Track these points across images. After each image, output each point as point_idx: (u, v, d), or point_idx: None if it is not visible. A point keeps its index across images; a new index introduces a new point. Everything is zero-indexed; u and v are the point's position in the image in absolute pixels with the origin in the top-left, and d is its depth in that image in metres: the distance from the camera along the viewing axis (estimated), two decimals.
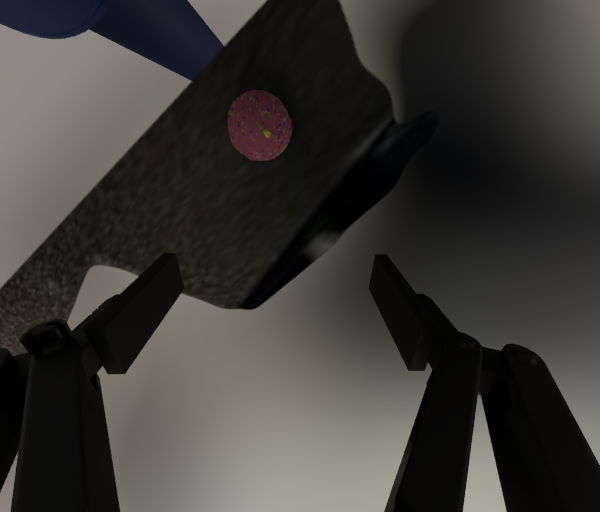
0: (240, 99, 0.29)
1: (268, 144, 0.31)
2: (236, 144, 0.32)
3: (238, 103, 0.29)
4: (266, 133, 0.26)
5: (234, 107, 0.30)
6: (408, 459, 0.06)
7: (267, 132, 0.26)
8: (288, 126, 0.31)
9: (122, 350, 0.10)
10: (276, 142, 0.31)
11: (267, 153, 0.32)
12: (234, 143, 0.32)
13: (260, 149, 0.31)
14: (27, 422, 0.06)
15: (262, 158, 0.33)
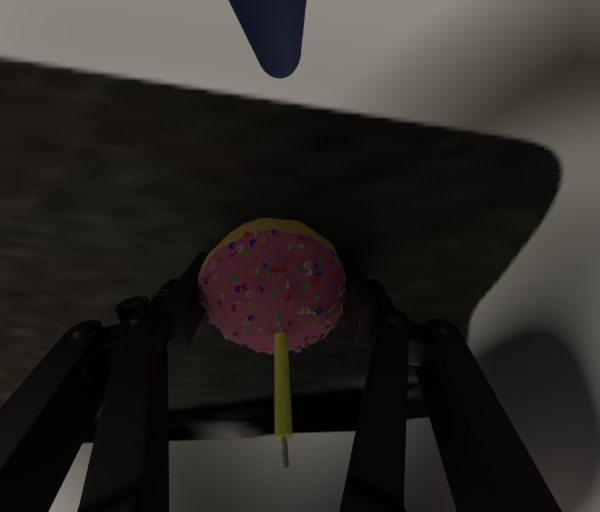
0: (284, 244, 0.11)
1: (266, 347, 0.13)
2: (205, 292, 0.12)
3: (274, 247, 0.11)
4: (282, 436, 0.09)
5: (259, 246, 0.11)
6: (357, 435, 0.06)
7: (286, 435, 0.09)
8: None
9: (186, 326, 0.12)
10: None
11: (251, 347, 0.14)
12: (201, 288, 0.12)
13: (243, 342, 0.13)
14: (111, 383, 0.07)
15: None
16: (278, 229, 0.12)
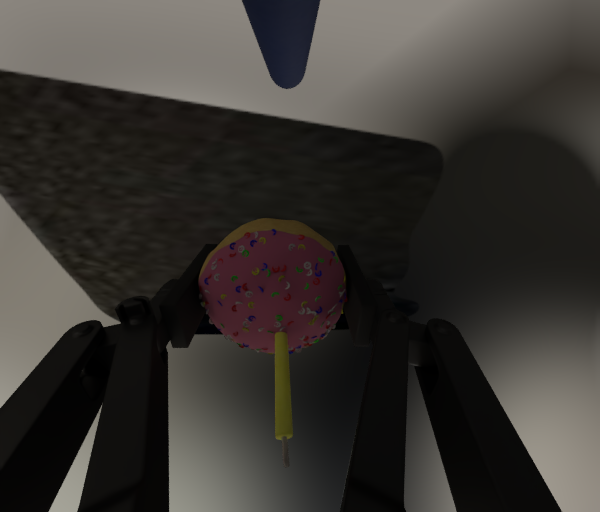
0: (284, 244, 0.11)
1: (266, 347, 0.13)
2: (205, 292, 0.12)
3: (274, 248, 0.11)
4: (283, 436, 0.09)
5: (259, 246, 0.11)
6: (357, 435, 0.06)
7: (287, 434, 0.09)
8: None
9: (186, 326, 0.12)
10: None
11: (251, 348, 0.14)
12: (201, 288, 0.12)
13: (243, 342, 0.13)
14: (111, 383, 0.07)
15: None
16: (278, 229, 0.12)
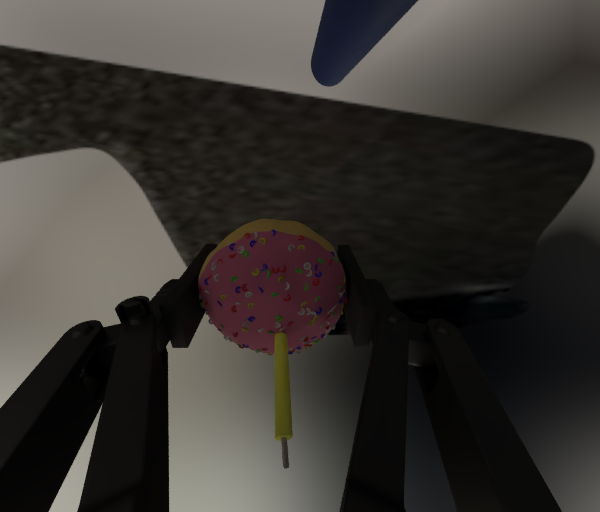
0: (284, 245, 0.11)
1: (266, 348, 0.13)
2: (205, 293, 0.12)
3: (274, 248, 0.11)
4: (282, 437, 0.09)
5: (259, 247, 0.11)
6: (357, 435, 0.06)
7: (286, 435, 0.09)
8: None
9: (186, 326, 0.12)
10: None
11: (251, 348, 0.14)
12: (201, 288, 0.12)
13: (243, 343, 0.13)
14: (111, 383, 0.07)
15: None
16: (278, 230, 0.12)
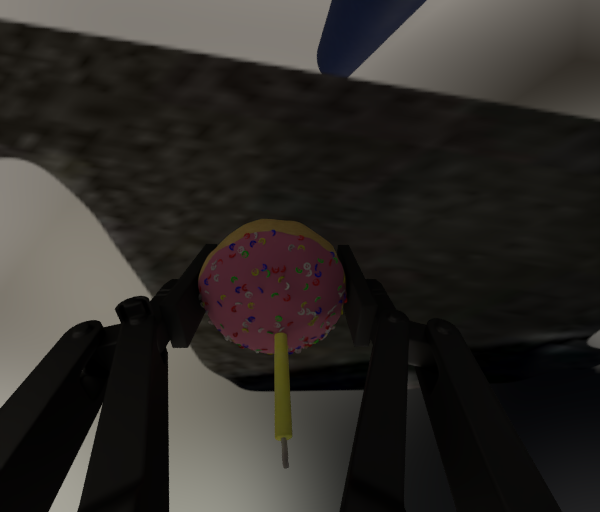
0: (284, 245, 0.11)
1: (266, 348, 0.13)
2: (205, 293, 0.12)
3: (273, 248, 0.11)
4: (282, 437, 0.09)
5: (259, 247, 0.11)
6: (357, 435, 0.06)
7: (286, 435, 0.09)
8: None
9: (186, 326, 0.12)
10: None
11: (251, 348, 0.14)
12: (201, 288, 0.12)
13: (243, 343, 0.13)
14: (111, 383, 0.07)
15: None
16: (278, 230, 0.12)
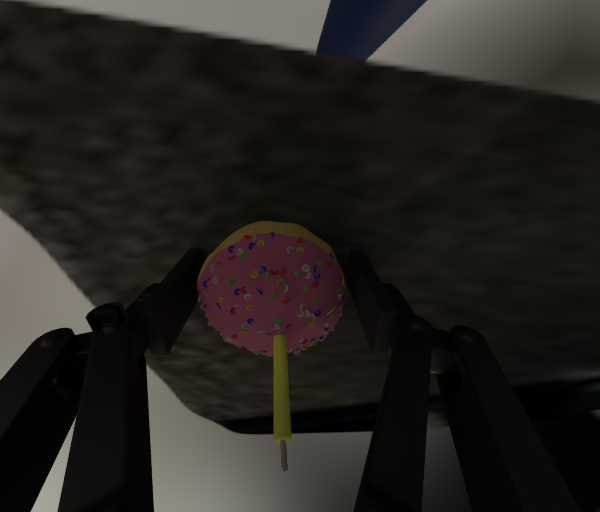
0: (283, 247, 0.11)
1: (265, 350, 0.13)
2: (204, 295, 0.13)
3: (272, 251, 0.11)
4: (281, 439, 0.09)
5: (258, 249, 0.11)
6: (374, 441, 0.06)
7: (285, 438, 0.09)
8: None
9: (165, 333, 0.11)
10: None
11: None
12: (200, 290, 0.12)
13: (242, 345, 0.13)
14: (85, 394, 0.07)
15: None
16: (277, 232, 0.12)
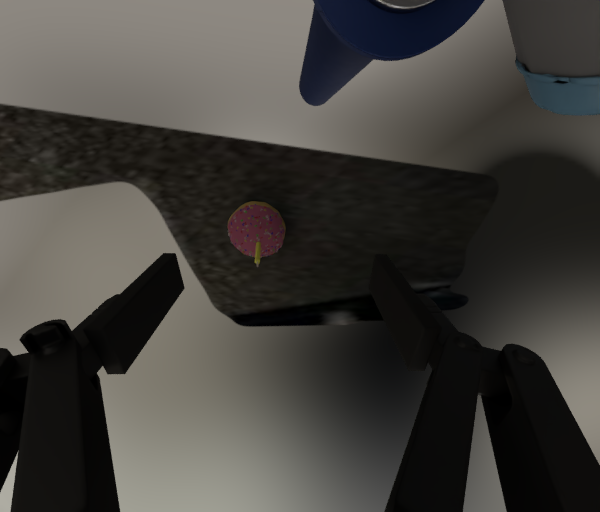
0: (259, 209, 0.33)
1: (253, 250, 0.34)
2: (230, 228, 0.34)
3: (255, 210, 0.32)
4: (256, 261, 0.30)
5: (250, 209, 0.32)
6: (408, 459, 0.06)
7: (258, 260, 0.30)
8: (276, 248, 0.36)
9: (122, 350, 0.10)
10: (259, 253, 0.35)
11: (247, 252, 0.35)
12: (229, 226, 0.34)
13: (244, 248, 0.34)
14: (27, 422, 0.06)
15: (241, 251, 0.35)
16: (257, 204, 0.33)
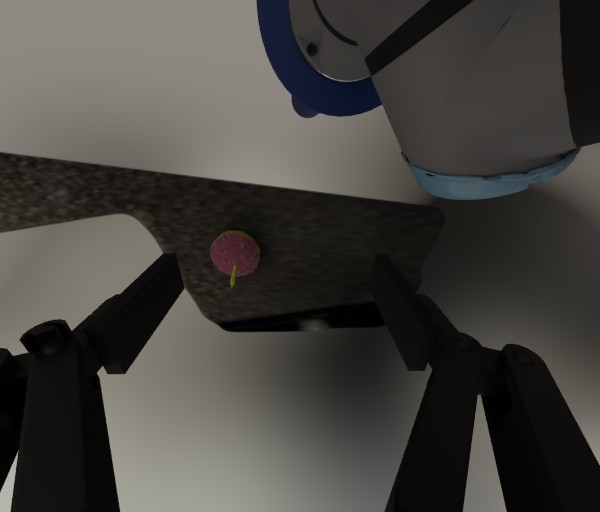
0: (235, 238, 0.39)
1: (231, 271, 0.41)
2: (212, 253, 0.40)
3: (232, 239, 0.39)
4: (231, 283, 0.36)
5: (228, 238, 0.39)
6: (408, 459, 0.06)
7: (232, 283, 0.36)
8: (252, 269, 0.42)
9: (122, 350, 0.10)
10: (237, 273, 0.41)
11: (227, 273, 0.41)
12: (211, 251, 0.40)
13: (224, 269, 0.41)
14: (27, 422, 0.06)
15: (222, 271, 0.42)
16: (234, 234, 0.39)
